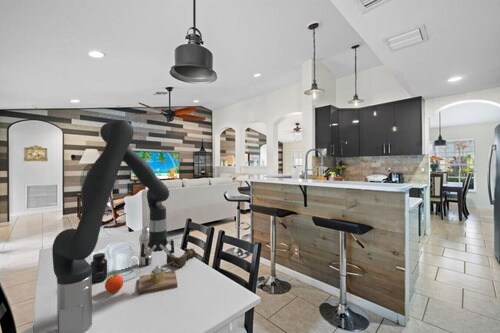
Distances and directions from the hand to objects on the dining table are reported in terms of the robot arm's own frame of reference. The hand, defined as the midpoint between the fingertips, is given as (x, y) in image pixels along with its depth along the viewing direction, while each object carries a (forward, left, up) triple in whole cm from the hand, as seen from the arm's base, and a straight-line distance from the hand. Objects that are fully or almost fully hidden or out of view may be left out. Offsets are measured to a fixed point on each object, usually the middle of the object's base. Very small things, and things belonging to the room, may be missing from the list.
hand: (157, 264), depth 106 cm
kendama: (+19, -12, -10) cm, 24 cm away
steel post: (0, 0, -8) cm, 8 cm away
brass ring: (0, 0, -8) cm, 8 cm away
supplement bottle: (+14, +26, -9) cm, 31 cm away
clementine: (0, +18, -9) cm, 20 cm away
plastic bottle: (+24, +6, -9) cm, 27 cm away
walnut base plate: (0, 0, -9) cm, 9 cm away
